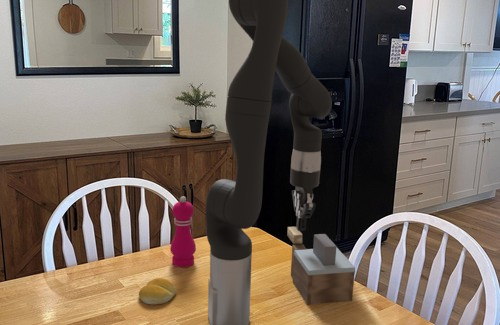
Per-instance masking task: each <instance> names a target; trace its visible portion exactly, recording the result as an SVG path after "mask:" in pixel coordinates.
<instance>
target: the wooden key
mask: <svg viewBox="0 0 500 325" xmlns="http://www.w3.org/2000/svg"><path fill="white" fill-rule="evenodd" d="M286 236H287V237H288V239H289V240H290V241H291V242H292V245H298V244H303V233H302V231H298V230H297V229H296V226H287V235H286Z"/></svg>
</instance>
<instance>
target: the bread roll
mask: <svg viewBox="0 0 500 325" xmlns="http://www.w3.org/2000/svg"><path fill="white" fill-rule="evenodd" d="M175 295H176V287H175V285H174V283H172V282H171V281H170V280H169V279H166V278H164V277H163V278H162V277H161V278H160V277H157V278H154V279H151V280H150V281H149V282H147V283H146V285H144V286H143V287H141V288H140V289H139V291H138V297H139V299H140V300H141V301H142V302H143V303H144V304H147V305H153V306H154V305H162V304H165V303H168V302H169V301H170V300H171V299H172V298H173V297H175Z"/></svg>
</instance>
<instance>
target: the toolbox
mask: <svg viewBox="0 0 500 325" xmlns="http://www.w3.org/2000/svg"><path fill="white" fill-rule="evenodd" d="M291 246H292V247H291V260H290V261H291V262H290V264H291V265H290V277H291V279H292V283H293V285H294V286H295V288H296V290H297V292H298V293H299V295H300V297H301V298H302V299H303V301H304V303H305V305H306V306H308V305H318V304H319V305H320V304H331V303H344V302H352V301H353V296H354V295H353V293H354V285H355V284H354V283H355V273H356V272H345V273H331V274H318V275H308V274H307V272H306V271H305V269H304V268H303V266H302V265H301V264H300V262H299V261H298V259H297V258H296V256H295V255H294V250H304V249H307V248H306V246H305V245H304V244H303V243H299V244H292V245H291Z"/></svg>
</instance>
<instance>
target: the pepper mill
mask: <svg viewBox="0 0 500 325" xmlns="http://www.w3.org/2000/svg"><path fill="white" fill-rule="evenodd" d="M171 210H172V215H173V217H174V218H173V221H174V225H175V234H174V237H173V239H172V240H171V243H170V253H171V255H172V258H171V261H172V262H171V263H172V265H173V266H175V267H178V268H188V267H191V266H192V265H194V263H195V255H194V254H196V250H197V246H196V242H195V240H194V238H193V235H192V231H191V225H192V224H193V218H192V216H193V215H194V214H195V209H194V206H193V204H192V203H191V202H189V201H187V198H186V196H184V195H183V196H181V197H180V198H179V201H177V202H176V203H174V204H173V206H172V209H171Z"/></svg>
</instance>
